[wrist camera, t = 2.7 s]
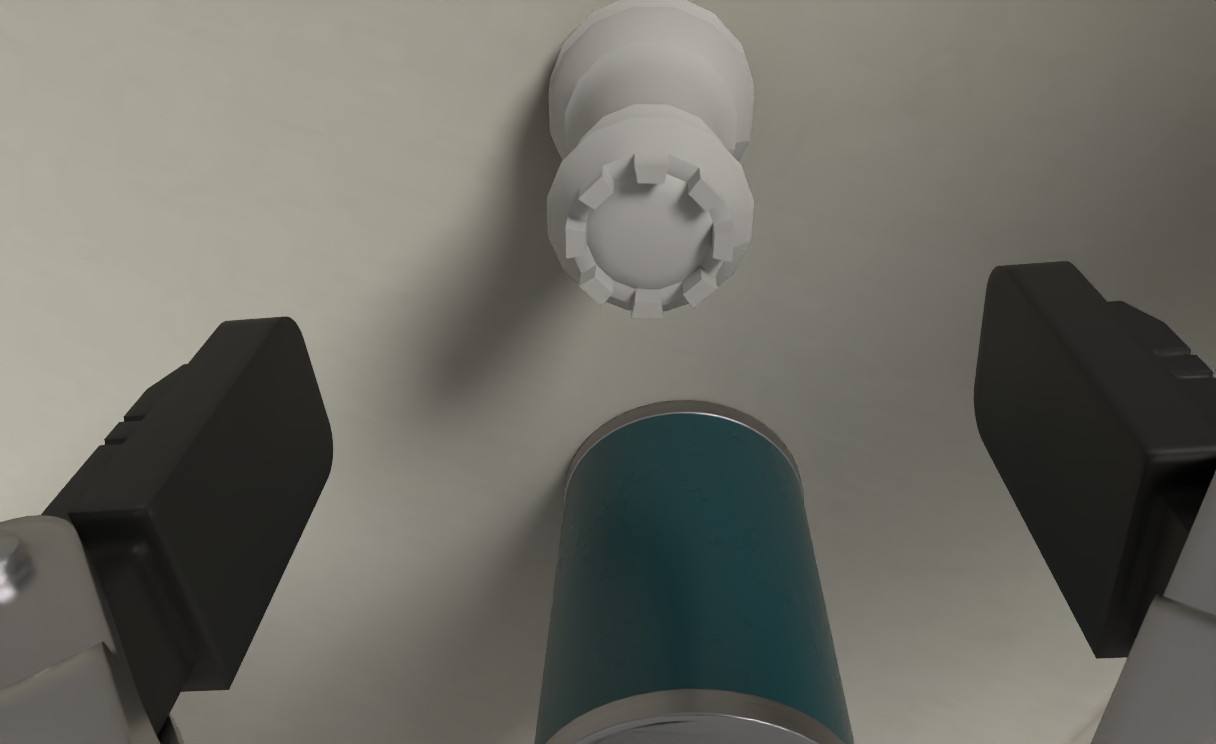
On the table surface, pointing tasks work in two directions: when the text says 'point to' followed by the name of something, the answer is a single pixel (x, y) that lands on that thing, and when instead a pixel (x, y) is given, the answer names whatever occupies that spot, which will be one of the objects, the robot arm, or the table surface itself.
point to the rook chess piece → (650, 155)
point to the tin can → (688, 590)
